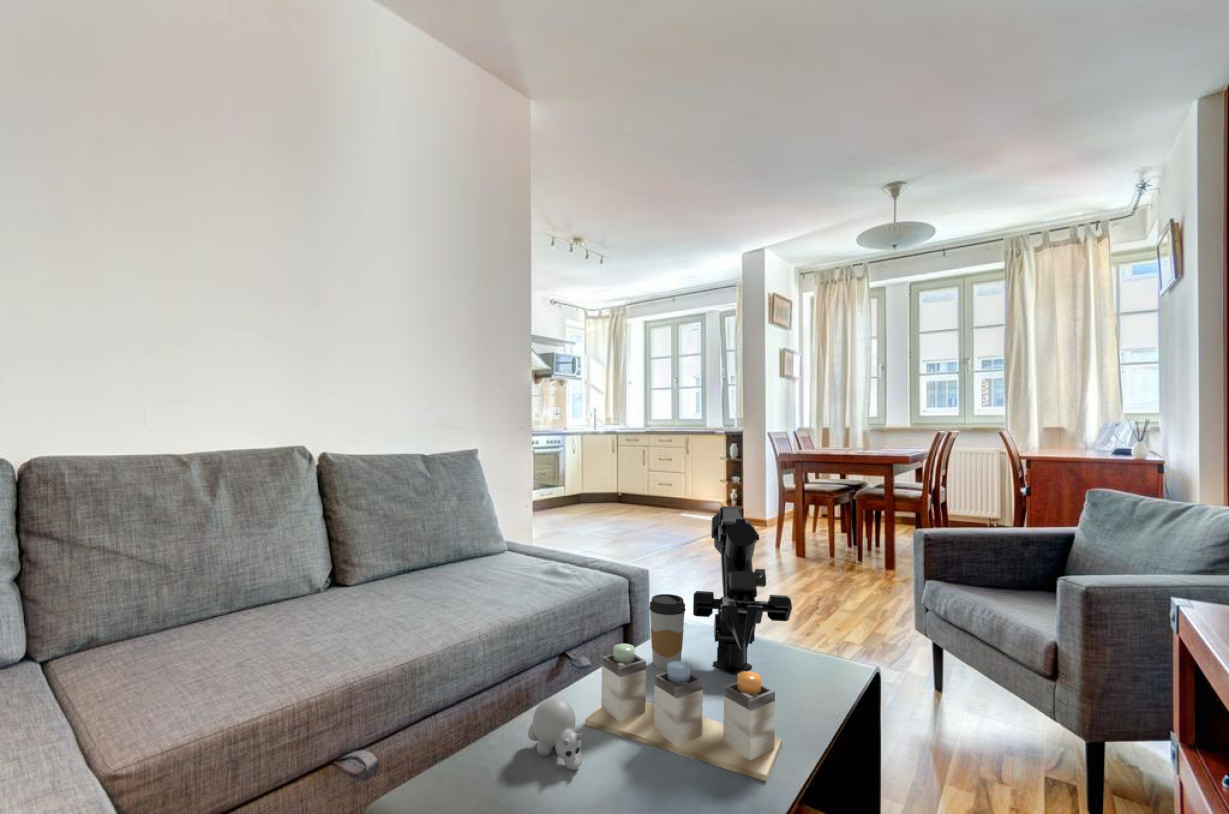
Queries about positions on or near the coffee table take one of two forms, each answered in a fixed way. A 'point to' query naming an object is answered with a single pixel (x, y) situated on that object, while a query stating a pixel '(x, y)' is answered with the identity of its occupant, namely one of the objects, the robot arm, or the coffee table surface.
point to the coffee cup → (666, 628)
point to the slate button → (678, 671)
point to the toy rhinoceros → (556, 731)
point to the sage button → (624, 653)
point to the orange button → (749, 682)
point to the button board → (691, 748)
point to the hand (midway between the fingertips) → (743, 648)
